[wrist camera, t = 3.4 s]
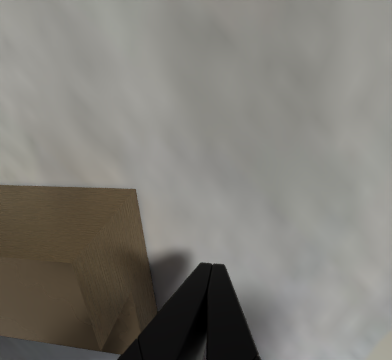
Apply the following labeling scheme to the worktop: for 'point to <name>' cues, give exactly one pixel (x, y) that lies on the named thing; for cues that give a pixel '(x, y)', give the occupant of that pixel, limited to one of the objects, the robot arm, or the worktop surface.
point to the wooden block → (73, 267)
